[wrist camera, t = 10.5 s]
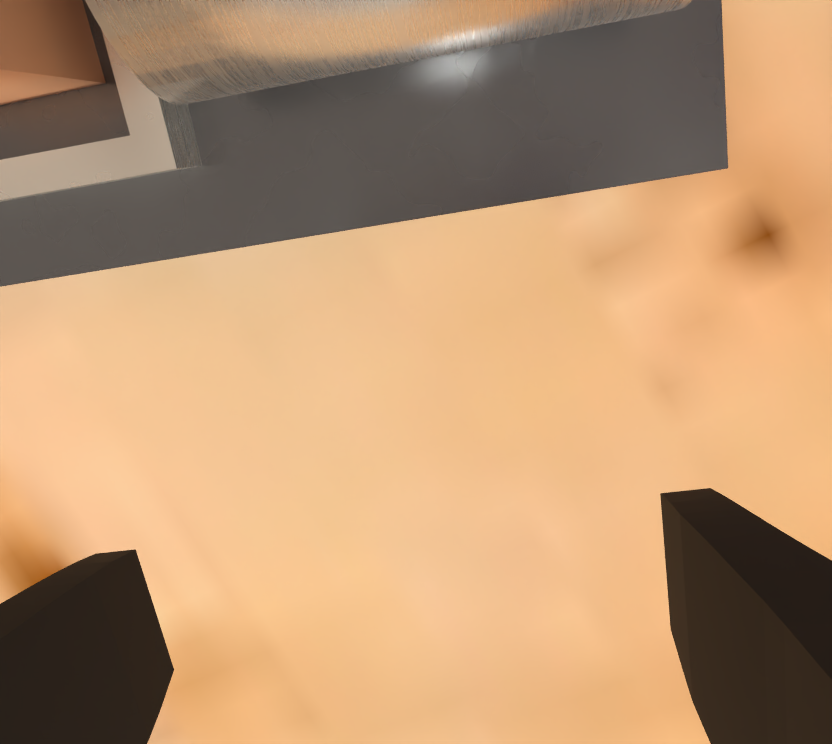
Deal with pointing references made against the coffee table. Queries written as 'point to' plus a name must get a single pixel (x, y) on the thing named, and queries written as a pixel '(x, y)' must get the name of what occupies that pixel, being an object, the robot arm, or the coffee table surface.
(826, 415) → the coffee table surface
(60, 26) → the cube with grey knob
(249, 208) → the motor mount
